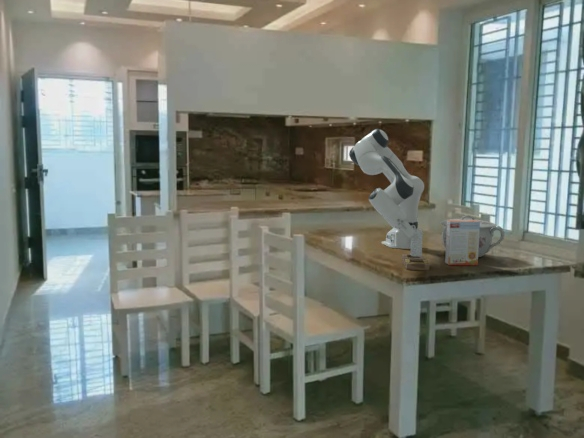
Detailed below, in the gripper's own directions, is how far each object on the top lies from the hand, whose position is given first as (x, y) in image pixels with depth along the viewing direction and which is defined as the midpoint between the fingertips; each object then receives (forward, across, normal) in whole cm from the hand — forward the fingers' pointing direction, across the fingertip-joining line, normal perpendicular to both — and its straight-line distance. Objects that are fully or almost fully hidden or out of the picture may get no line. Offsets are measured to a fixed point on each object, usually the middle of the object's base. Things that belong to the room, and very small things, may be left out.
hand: (418, 240), depth 262 cm
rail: (+8, +6, +9) cm, 14 cm away
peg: (+4, 0, +5) cm, 7 cm away
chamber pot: (+28, +33, -11) cm, 45 cm away
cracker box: (+24, +10, -6) cm, 27 cm away
